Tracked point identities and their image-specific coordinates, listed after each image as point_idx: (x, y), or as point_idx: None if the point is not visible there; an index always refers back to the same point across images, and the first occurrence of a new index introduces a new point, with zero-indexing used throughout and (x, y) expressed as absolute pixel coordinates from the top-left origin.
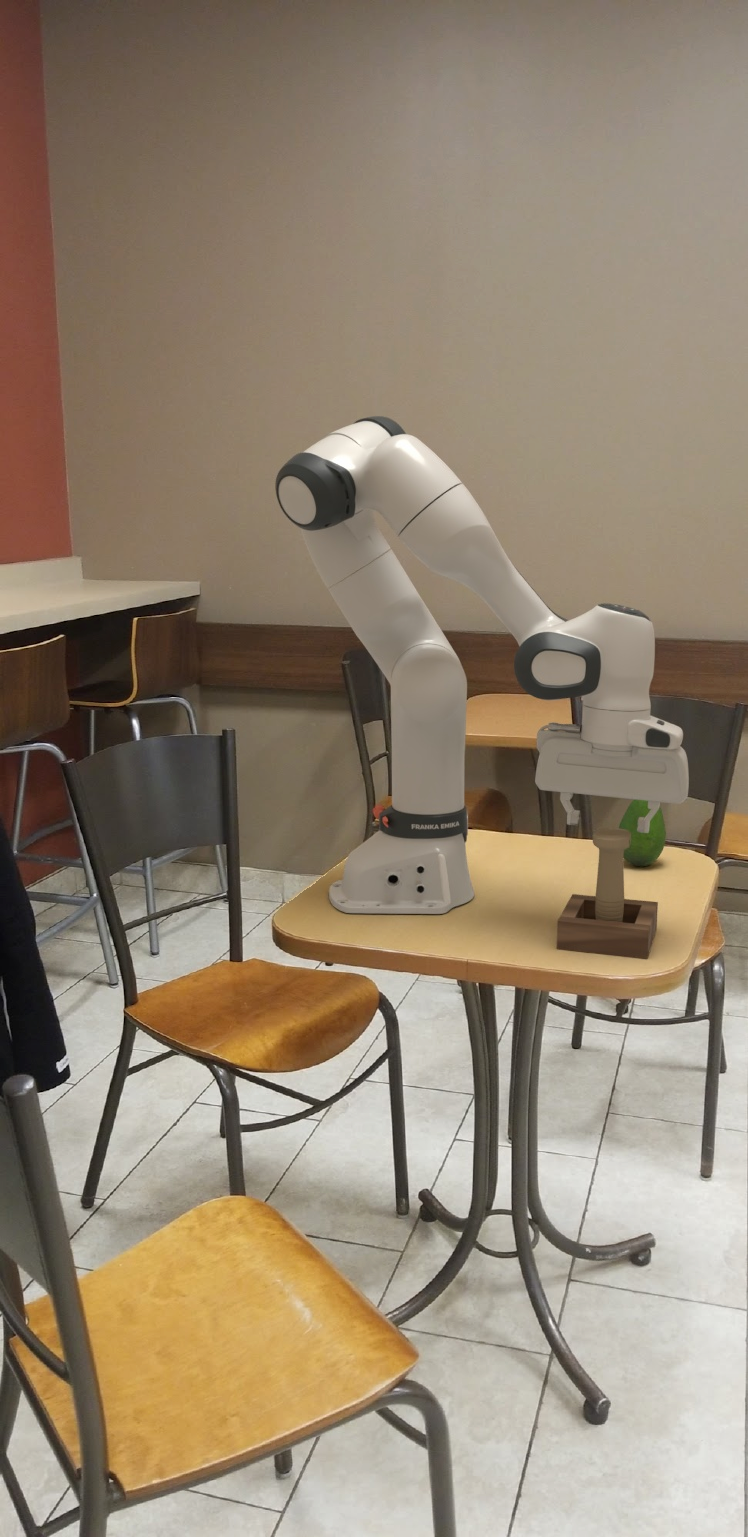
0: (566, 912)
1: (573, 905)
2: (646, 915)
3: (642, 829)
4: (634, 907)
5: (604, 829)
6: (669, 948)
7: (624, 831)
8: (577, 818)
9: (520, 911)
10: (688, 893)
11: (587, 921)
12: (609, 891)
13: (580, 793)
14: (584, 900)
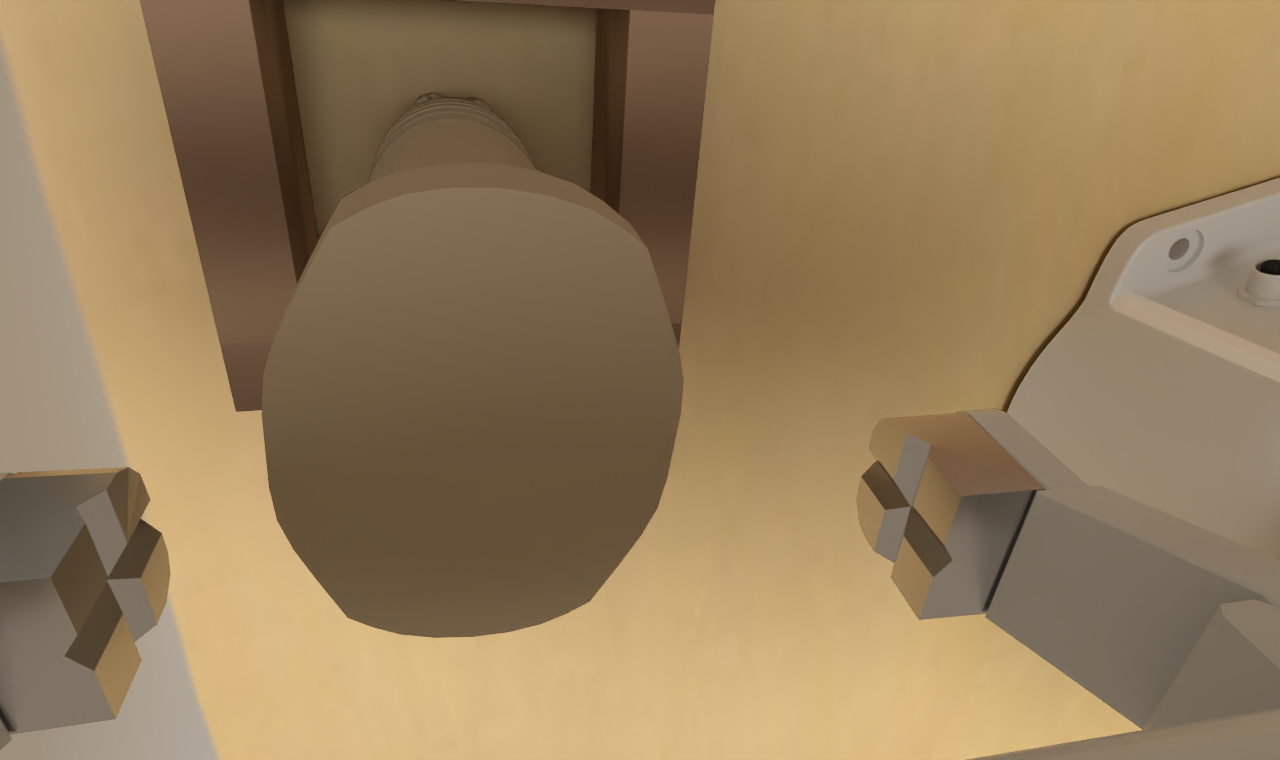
0: (683, 91)
1: (656, 222)
2: (224, 174)
3: (25, 484)
4: None
5: (584, 564)
6: (110, 95)
7: (373, 571)
8: (928, 457)
9: (842, 358)
10: (261, 729)
11: None
12: (447, 141)
13: (1232, 718)
14: None
